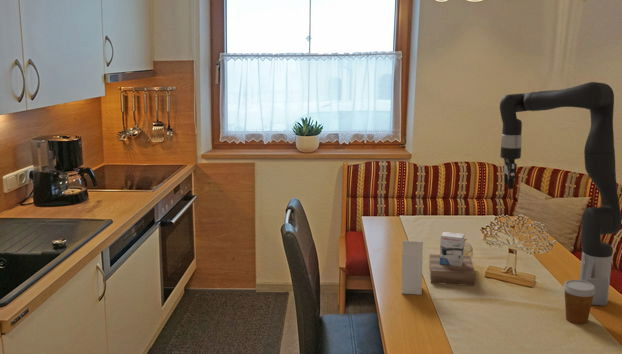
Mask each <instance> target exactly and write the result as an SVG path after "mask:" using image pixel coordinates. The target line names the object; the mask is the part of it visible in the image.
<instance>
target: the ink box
mask: <svg viewBox="0 0 622 354" xmlns="http://www.w3.org/2000/svg"><path fill="white" fill-rule="evenodd" d="M439 243H440V244H439V245H440V247H439V248H440V249H439V255H440V264H444V265H452V266H460V267H461V266H462V264H463V260H464V256H465V234H464V233H456V232H448V231H443V232H441V234H440V242H439Z"/></svg>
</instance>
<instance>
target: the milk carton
mask: <svg viewBox="0 0 622 354" xmlns="http://www.w3.org/2000/svg"><path fill="white" fill-rule="evenodd" d="M423 245H424V241H419V240H418V241H416V240H415V241H414V240H402V251H401V252H402V253H401V294H402V295H403V294H405V295H418V296H419V295H420V296H421V295H422V291H423V290H422V289H423V288H422V287H423V256H424V255H423V253H424V252H423V251H424V250H423V249H424V246H423Z"/></svg>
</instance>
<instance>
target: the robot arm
mask: <svg viewBox="0 0 622 354" xmlns="http://www.w3.org/2000/svg"><path fill="white" fill-rule="evenodd" d="M614 105H615V94H614V91H613V88H612V86H610V85H609V84H607V83H605V82H599V81H597V82H596V81H590V82H586V83H583V84H579V85H575V86H572V87H569V88H568V87H567V88H564V89H563V88H561V89H556V90H555V89H554V90H553V89H552V90H541V91H532V92H527V93H526V92H525V93H511V94H510V93H509V94H505V95H504V96H503V97H501V99H500V102H499V113H500V116H501V121H502V128H501V129H502V130H501V133H502V134H501V140H500V155H499V156H500V158H501V159H503V175H504V181H503V183H504V185H507V189H508V190H514V189H515V180H516V179H517V165H518V164H517V163H516V162H515V160H519V159H521V158H522V157H521V156H522V141H523V139H522V131H523V130H522V129H523V122H522V120H521V119H519V118H517V113H522V112H523V113H524V112H537V111H539V112H540V111H548V110H553V109H558V108H559V109H560V108H578V109H586V110H589V113H590V129H589V131H588V132H589V133H588V135H587V137H586V138H587V139H586V141H585V145H584V150H583V151H584V152H583V153H584V154H583V155H584V166H585V167H584V169H585V172H586V173H587V175H588V176H589V178H590V179H591V181H592V182H593V184H594V185H595V187H596V188H597V191H598V192H599V195H600V201H601V206H599V207H598V206H595V207H594V206H593V207H587V208H586V209H585V210H584V211H583V213H582V215H581V216H582V217H581V234H580V239H581V240H580V241H581V247H582V248H581V249H582V250H581V261H580V273H579V280H582V281H586V282H589V283H591V284H593V285H594V287H595V290H596V293H595V294H594V296H593V300H592V305H591V306H604V307H605V306H606V307H607V304H608V302H609V294H610V293H609V292H610V281H611V272H612V260H613V252H614V249H613V246H612V245H611V244H609V243H607V242H605V241H602V240H601V235H612V234H617V233H618V232H619V231H620V229H621V228H622V227H621V226H622V213H621V206H620V200H619V195H618V187H617V175H616V174H617V173H616V154H615V153H616V151H615V150H616V149H615V138H614Z"/></svg>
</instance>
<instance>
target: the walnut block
mask: <svg viewBox="0 0 622 354" xmlns="http://www.w3.org/2000/svg"><path fill="white" fill-rule="evenodd" d="M429 278H430V279H429V280H431V281H430V284H438V283H446V284H445V285H458V284H467V285H466V286H475V284H476V283H475V281H476V280H475V278H476V272H475V268H474V264H473V261H472V257H471V256H470V255H464V260H463V264H462V266H461V267H460V266H452V265H444V264H440V254H429Z"/></svg>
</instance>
